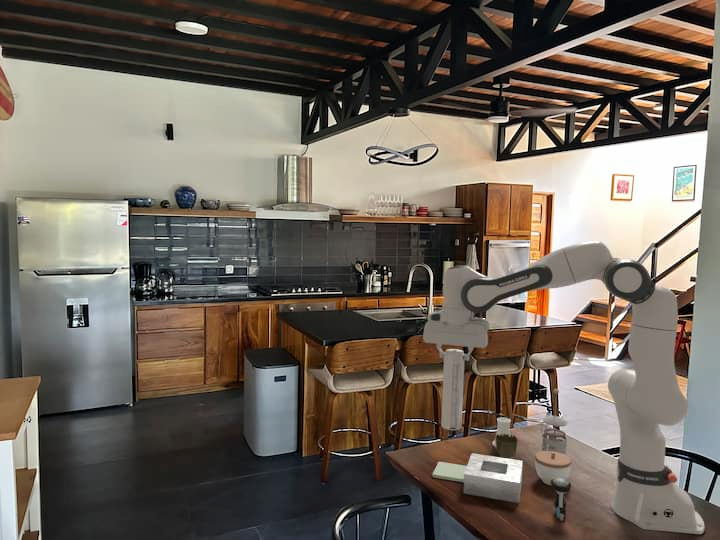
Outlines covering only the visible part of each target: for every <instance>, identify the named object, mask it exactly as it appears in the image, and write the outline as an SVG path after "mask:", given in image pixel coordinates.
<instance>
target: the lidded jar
mask: <svg viewBox="0 0 720 540" xmlns="http://www.w3.org/2000/svg"><path fill="white" fill-rule="evenodd" d="M534 460H535V461H534V462H535V463H534V464H535V471H536V474H537V475H538V477H539V478H540V479H541V481H542V482H543V483H544V484H546V485H548V486H551V480H552V479H554V478H555V477H563V478H566V479H567V480H568V478H569V477H570V474H571V467H572V459H571V458H570V457H569V456H568V455H567V454H565V455H564V454H562V453H559V452H554V451H542V450H541V451H538V452H536V453H535V454H534Z"/></svg>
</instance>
